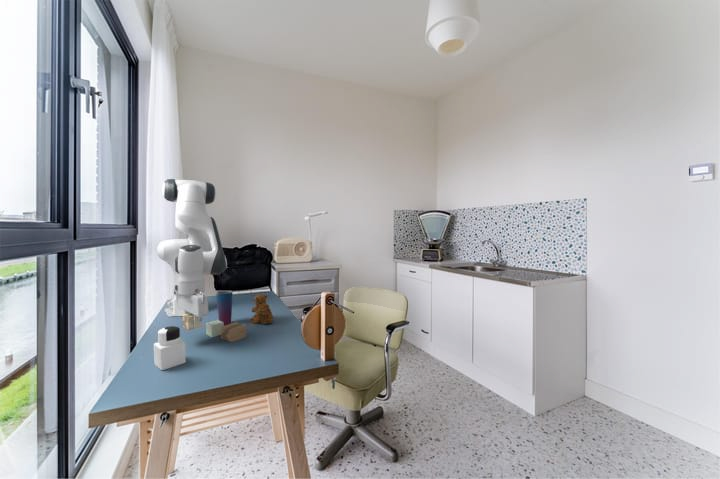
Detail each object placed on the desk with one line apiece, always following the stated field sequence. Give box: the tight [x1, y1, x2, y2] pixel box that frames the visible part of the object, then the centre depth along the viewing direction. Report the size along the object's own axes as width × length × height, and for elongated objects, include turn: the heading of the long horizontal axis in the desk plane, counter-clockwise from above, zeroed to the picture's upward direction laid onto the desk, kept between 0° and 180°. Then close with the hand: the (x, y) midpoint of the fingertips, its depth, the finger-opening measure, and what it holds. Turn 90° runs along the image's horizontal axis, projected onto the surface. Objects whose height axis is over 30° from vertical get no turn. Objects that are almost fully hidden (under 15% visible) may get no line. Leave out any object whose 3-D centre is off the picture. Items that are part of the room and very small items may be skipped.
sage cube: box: [205, 319, 224, 338], centre depth 124 cm, size 5×5×5 cm
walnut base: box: [220, 321, 248, 343], centre depth 120 cm, size 7×7×5 cm
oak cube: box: [182, 313, 203, 331], centre depth 114 cm, size 5×5×5 cm
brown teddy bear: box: [249, 293, 274, 325], centre depth 139 cm, size 10×14×13 cm
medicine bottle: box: [153, 325, 187, 371], centre depth 97 cm, size 7×7×12 cm
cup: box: [215, 290, 233, 326], centre depth 136 cm, size 7×7×15 cm
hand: (192, 322), depth 114 cm, fingers closed on oak cube, 5 cm apart
